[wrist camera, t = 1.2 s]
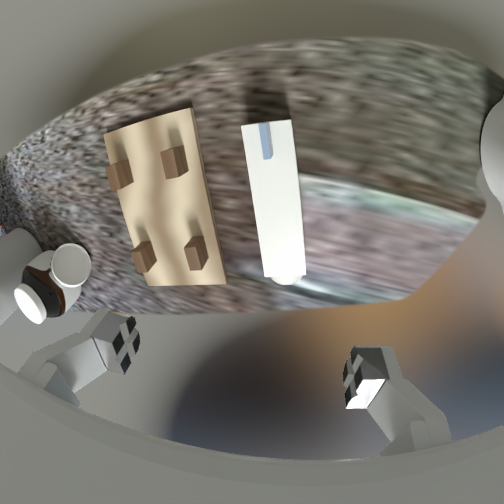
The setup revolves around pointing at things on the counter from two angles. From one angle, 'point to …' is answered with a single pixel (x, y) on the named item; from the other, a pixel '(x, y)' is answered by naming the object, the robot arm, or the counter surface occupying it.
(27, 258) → the cylinder vase
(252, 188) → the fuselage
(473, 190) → the counter surface
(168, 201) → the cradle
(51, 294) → the spread jar
